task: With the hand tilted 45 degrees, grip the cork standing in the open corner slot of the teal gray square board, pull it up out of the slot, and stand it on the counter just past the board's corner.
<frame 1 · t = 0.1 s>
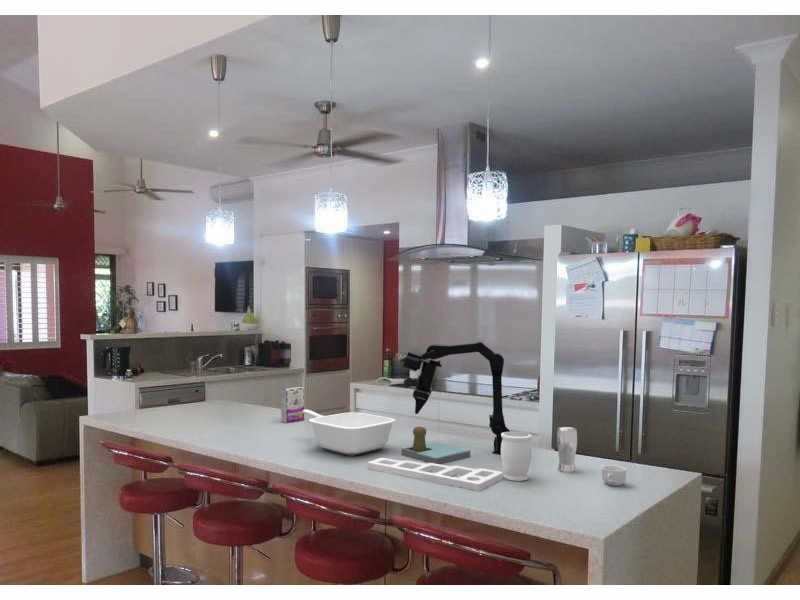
hand: (417, 411, 256), 15 cm above the counter, tool pointing down, fingers open, 9 cm apart
jar: (515, 478, 216), on the counter
beer glass: (566, 471, 226), on the counter
teacup: (612, 485, 209), on the counter
teal gray square board: (435, 455, 246), on the counter
pot: (338, 447, 260), on the counter
cork: (419, 456, 246), resting in teal gray square board
holder: (433, 475, 221), on the counter
candy bar box: (292, 421, 314), on the counter
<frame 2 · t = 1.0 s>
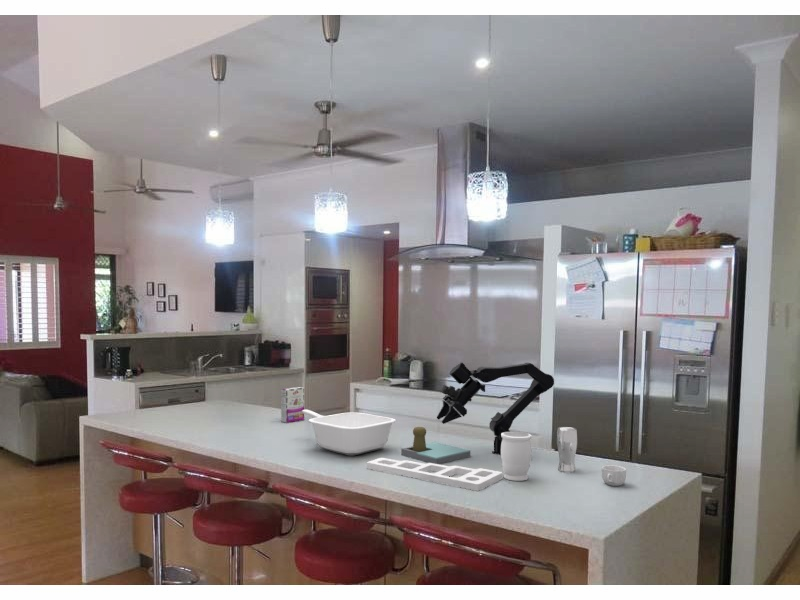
hand: (439, 420, 248), 13 cm above the counter, tool tilted 45°, fingers open, 9 cm apart
nothing on the counter moved.
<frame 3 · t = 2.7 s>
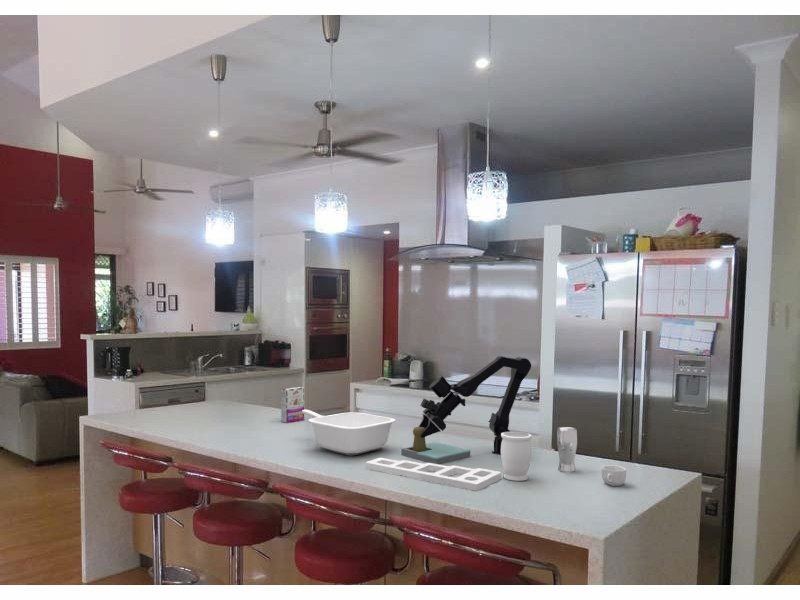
hand: (419, 434, 246), 8 cm above the counter, tool tilted 45°, fingers open, 9 cm apart
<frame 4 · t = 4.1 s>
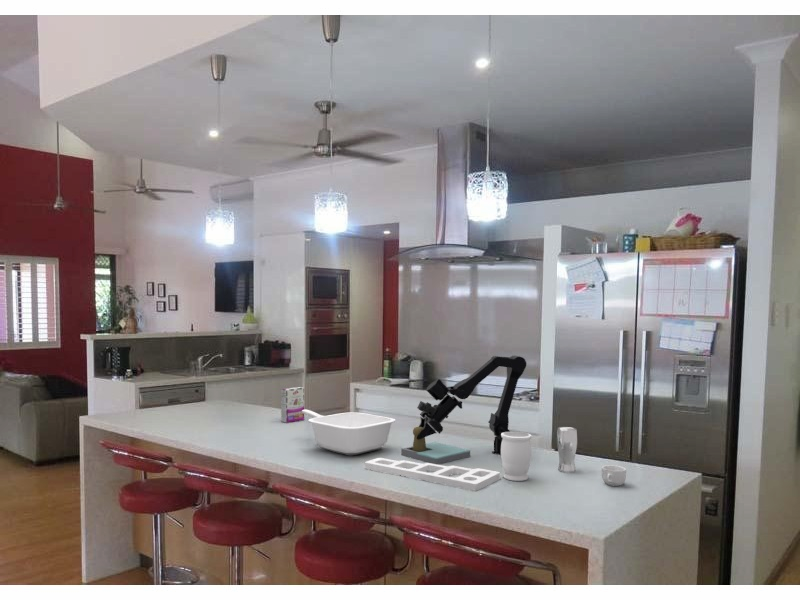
hand: (416, 437, 246), 7 cm above the counter, tool tilted 45°, fingers closed on cork, 5 cm apart
cork: (419, 455, 246), resting in teal gray square board, touching gripper
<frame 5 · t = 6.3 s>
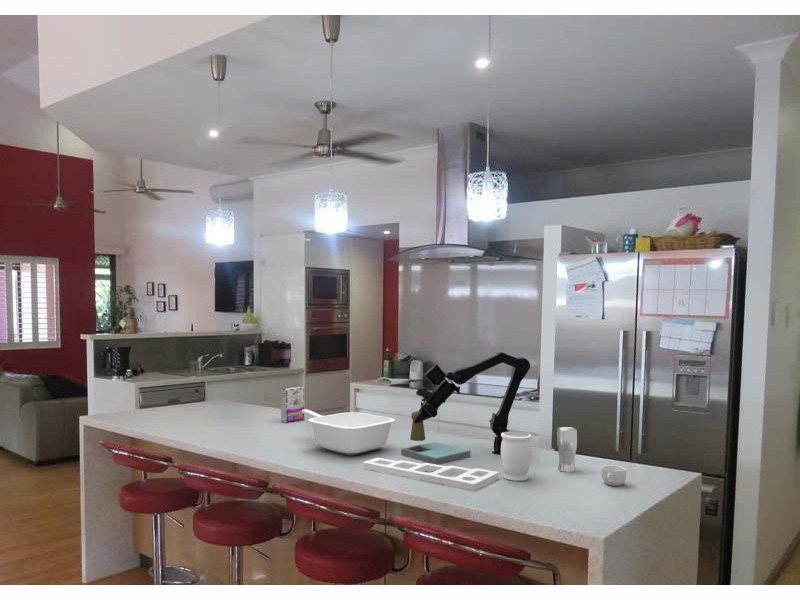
hand: (414, 421, 252), 12 cm above the counter, tool tilted 45°, fingers closed on cork, 5 cm apart
cork: (417, 439, 251), point 5 cm above the counter, touching gripper
when the fingers open (8 cm above the counter, at t = 8.3 s): cork drops 1 cm, on the counter.
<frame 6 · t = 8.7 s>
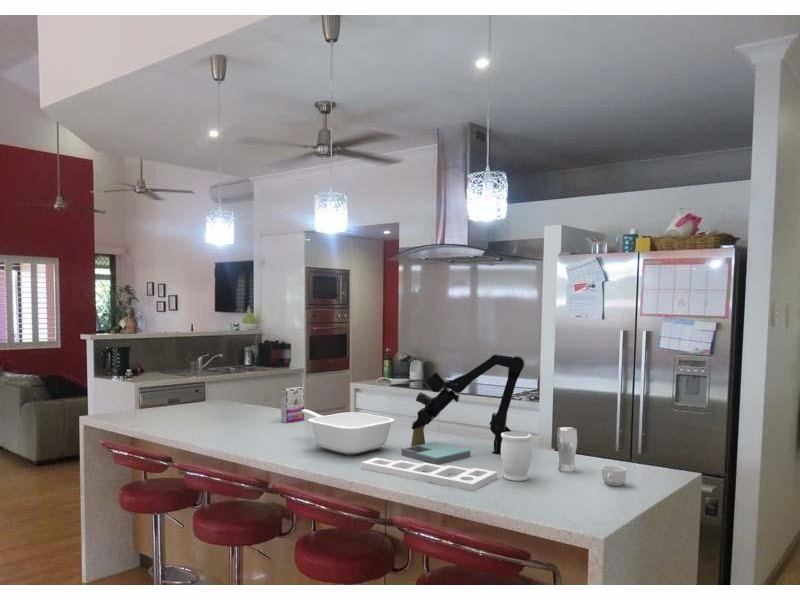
hand: (414, 426, 260), 9 cm above the counter, tool tilted 45°, fingers open, 9 cm apart
cork: (418, 448, 260), on the counter
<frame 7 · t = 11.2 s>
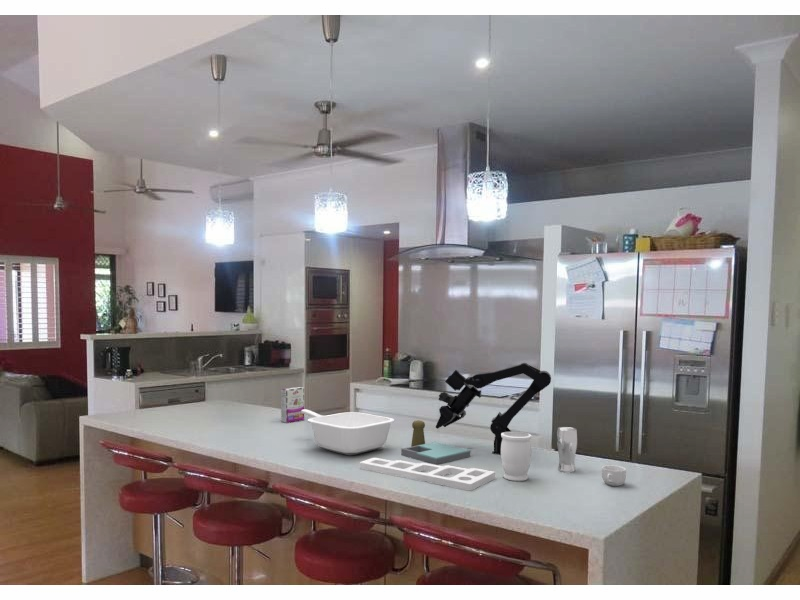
hand: (440, 427, 258), 9 cm above the counter, tool tilted 40°, fingers open, 9 cm apart
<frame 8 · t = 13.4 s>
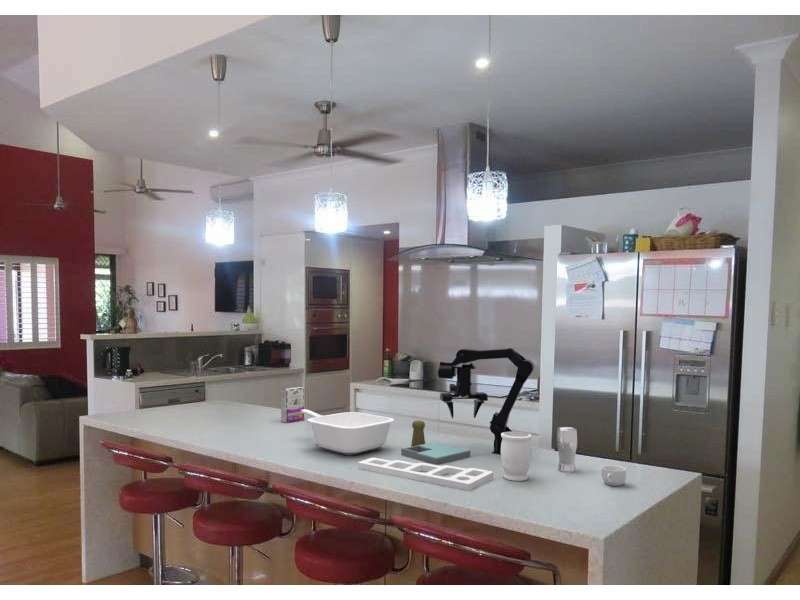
hand: (463, 418, 256), 13 cm above the counter, tool pointing down, fingers open, 9 cm apart
at the end: cork inside the target area (0.6 cm from its centre), on the counter; cork tilted 0°; the gripper is holding nothing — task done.
